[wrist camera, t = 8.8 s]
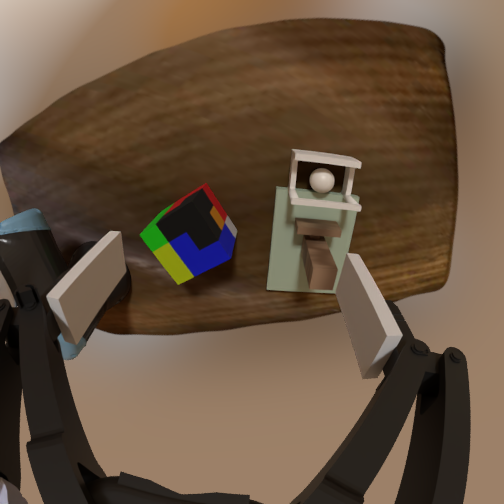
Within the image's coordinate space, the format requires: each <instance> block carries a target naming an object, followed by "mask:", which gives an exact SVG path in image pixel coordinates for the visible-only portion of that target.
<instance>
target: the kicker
mask: <svg viewBox="0 0 504 504" xmlns="http://www.w3.org/2000/svg"><path fill="white" fill-rule="evenodd" d="M295 228H296V232H297V234H302V235H303V241H302V248H301V255H302V259H303V264H304V268H305V272H306V277H307V281H308V286H309V289H316V290H333V287H334V283H335V280H336V276H337V272H338V268H337V266H336V264H335V261H334V259H333V256H332V254H331V252H330V249H329V247H328V245H327V242H326V240H325V238H324V236H326V237H338V238H341V233H342V230H341V228H340V227H339V225H338V223H337V222H336V221H330V220H319V219H308V218H297V217H295Z"/></svg>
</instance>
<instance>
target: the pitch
mask: <svg viewBox="0 0 504 504" xmlns="http://www.w3.org/2000/svg"><path fill="white" fill-rule="evenodd" d="M298 160H300V161H309V162H317V163H325V164H333V165H340V166H346V168H345V175H344V182H343V188H342V191H341V193H335V192H326V193H319V192H316V191H315V190H308V189H298V188H295V184H296V175H297V165H298ZM355 168H360V169H361V162H360V161H358V160H357V159H355V158H353V157H349V156H343V155H336V154H329V153H322V152H314V151H305V150H296V149H292V155H291V166H290V176H289V185H288V186H287V187H276V195H275V206H274V217H273V227H272V238H271V248H270V258H269V268H268V277H267V290H279V291H296V292H316V293H335V291H336V288H337V285H338V282H339V278H340V275H341V271H342V268H343V264H344V261H345V257H346V253H348V250H349V246H350V241H351V237H352V232H353V228H354V223H355V218H356V213H357V211H361V207H362V206H361V205H359V204H358V203H359V197H358V196H357V195H351V189H352V183H353V177H354V171H355ZM295 217H297V218H308V219H319V220H330V221H336V222H337V223H338V225H339V227H340V228H341V230H342V233H341V238H338V237H326V236H324V238H325V240H326V242H327V245H328V247H329V249H330V252H331V254H332V256H333V259H334V261H335V264H336V266H337V268H338V272H337V276H336V280H335V283H334V287H333V290H316V289H309V286H308V281H307V277H306V272H305V268H304V264H303V259H302V255H301V248H302V241H303V235H302V234H297V232H296V228H295Z"/></svg>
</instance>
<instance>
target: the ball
mask: <svg viewBox="0 0 504 504" xmlns="http://www.w3.org/2000/svg"><path fill="white" fill-rule="evenodd" d="M309 181H310V185H311V187H312V188H313V189H314V190H315V191H316V192H319V193H326V192H328V191H330V190H331V189H332V188H333V186H334V181H335V180H334V176H333V174H332V173H331V172H330V171H329V170H327V169H325V168H318V169H316V170H314V171H313V172H312V173H311V175H310V179H309Z"/></svg>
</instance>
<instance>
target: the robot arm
mask: <svg viewBox="0 0 504 504" xmlns="http://www.w3.org/2000/svg"><path fill="white" fill-rule="evenodd" d="M130 285H131V277H130V273H129V270H128V267H127V265H126V263H125V259H124V252H123V245H122V237H121V232H117V231H110V232H108V233H107V234H106V235H105V236H104V237H103V238H102V239H101V240H100V241H99V242H95V241H90V242H86V243H84V244H82V245H81V246H80V247H79V248H78V249H77V250H76V251H75V252H74V253H73V255H72V257H71V260H70V263H69V265H68V267H67V265H66V263H65V260H64V258H63V256H62V254H61V252H60V250H59V248H58V246H57V244H56V241H55V239H54V237H53V234H52V232H51V228H50V227H49V226H48V224H47V222H46V220H45V217H44V215H43V213H42V212H41V211H40V210H39V209H30V210H27V211H24V212H22V213H19V214H17V215H15V216H13V217H11V218H8V219H6V220H4V221H2V222H1V223H0V504H28V502H27V501H26V499H25V498H23V497H22V494H21V493H20V483H21V482H20V481H21V468H20V444H19V443H20V442H19V433H20V408H21V395H22V389H23V396H24V403H25V409H26V415H27V421H28V425H29V430H30V435H31V441H29V442H27V445H26V447H27V453H28V457H29V461H30V464H31V468H32V471H33V474H34V477H35V480H36V483H37V486H38V489H39V492H40V494H41V497H42V500H43V502H44V504H262V503H259V502H257V501H254V500H250V499H249V498H250V495H240V494H239V495H238V494H227V493H217V492H216V493H204V494H184V495H183V494H179V493H176V492H174V491H172V490H170V489H167V488H165V487H163V486H161V485H159V484H157V483H154V482H153V481H151V480H148V479H144V478H140V477H136V476H133V475H130V474H127V473H124V472H121V473H120V476H110V477H107V476H106V474H105V473H104V471H103V469H102V468H101V467H100V465H99V464H98V463H97V461H96V459H95V457H94V455H93V452H92V450H91V448H90V445H89V443H88V440H87V438H86V435H85V432H84V430H83V427H82V424H81V421H80V419H79V416H78V412H77V410H76V407H75V403H74V400H73V397H72V393H71V389H70V386H69V382H68V378H67V374H66V370H65V366H64V361H63V360H71V359H74V358H75V357H76V356H78V354H79V353H80V351H81V350H82V349H83V347H85V346H86V343H87V341H88V339H89V337H90V336H91V334H92V332H93V331H94V329H95V327H96V326H97V324H98V323H99V321H100V319H101V318H102V316H103V315H104V313H105V312H106V311H107V310H108V309H110V308H111V307H113V306H114V305H116V304H118V303H119V302H121V301H122V300H123V299H124V297H125V296H126V294H127V293H128V291H129V289H130ZM335 293H336V296H337V299H338V302H339V305H340V308H341V311H342V314H343V317H344V320H345V323H346V326H347V329H348V332H349V335H350V338H351V342H352V345H353V348H354V351H355V355H356V358H357V361H358V365H359V368H360V372H361V375H362V378H363V379H369V378H378V376H379V374H380V373H381V371H382V370H383V372H384V375H385V377H384V379H383V380H382V382H381V383H380V384H379V386H378V387H377V389H376V392H375V394H374V396H373V397H372V399H371V401H370V402H369V404H368V405H367V407H366V409H365V410H364V412H363V413H362V415H361V416H360V418H359V420H358V421H357V423H356V424H355V426H354V427H353V428H352V430H351V432H350V433H349V434H348V436H347V437H346V438H345V440H344V441H343V443H342V444H341V445H340V447H339V448H338V449H337V451H336V452H335V453H334V455H333V456H332V457H331V459H330V460H329V461H328V462H327V463H326V465H325V466H324V467H323V468H322V470H321V471H320V472H319V473H318V474H317V476H316V477H315V478H314V479H313V480H312V481H311V482H310V484H309V485H308V486H307V487H306V488H305V489H304V490H303V492H301V493H300V494H299V495H298V496H297V497H296V498H295V499H294V500H293V501H292V502H291V503H290V504H363V502H364V497H363V496H364V494H365V492H366V491H367V489H368V488H369V486H370V485H371V483H372V481H373V480H374V478H375V477H376V475H377V473H378V472H379V470H380V468H381V467H382V465H383V463H384V461H385V460H386V458H387V456H388V454H389V452H390V451H391V449H392V447H393V445H394V443H395V441H396V439H397V437H398V435H399V433H400V431H401V429H402V427H403V425H404V423H405V421H406V419H407V416H408V414H409V412H410V410H411V407H412V405H413V402H414V400H415V398H416V395H417V400H416V410H415V417H414V423H413V430H412V435H411V442H410V446H409V451H408V456H407V460H406V465H405V469H404V473H403V477H402V480H401V484H400V488H399V491H398V494H397V498H396V501H395V504H463V500H464V494H465V489H466V482H467V474H468V465H469V452H470V394H469V380H468V369H467V361H466V358H465V355H464V354H463V353H462V352H461V351H460V350H459V349H457V348H454V347H449V348H447V349H446V350H445V351H444V353H443V354H438V353H434V352H430V349H429V347H428V346H427V345H426V344H425V343H424V342H422V341H420V340H417V339H415V338H414V336H413V334H412V332H411V331H410V329H409V327H408V325H407V323H406V321H404V317H403V316H402V315H401V312H400V310H399V309H398V307H397V306H396V305H395V304H394V303H393V302H392V301H391V300H384V298H383V296H382V294H381V293H380V291H379V289H378V287H377V285H376V283H375V282H374V280H373V278H372V276H371V275H370V273H369V271H368V269H367V268H366V266H365V264H364V263H363V261H362V259H361V258H360V256H359V254H350V253H346V257H345V261H344V264H343V268H342V271H341V275H340V278H339V282H338V285H337V288H336V291H335ZM17 306H18V307H17ZM5 341H6V344H5Z"/></svg>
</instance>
